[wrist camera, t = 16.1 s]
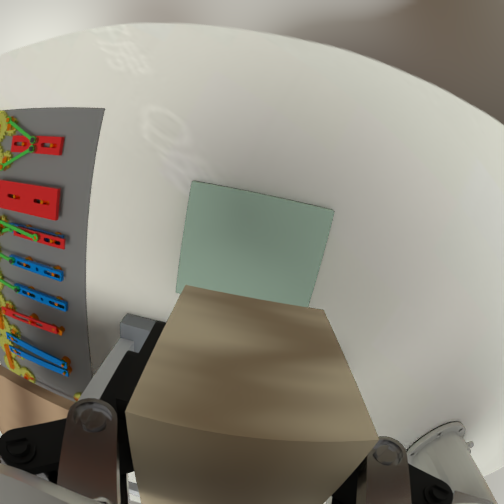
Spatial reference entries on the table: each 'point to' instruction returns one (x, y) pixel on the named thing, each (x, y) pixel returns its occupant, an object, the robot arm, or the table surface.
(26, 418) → the sliding cover
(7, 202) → the gear board
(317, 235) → the rubber mat
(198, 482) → the maple block
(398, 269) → the table surface
